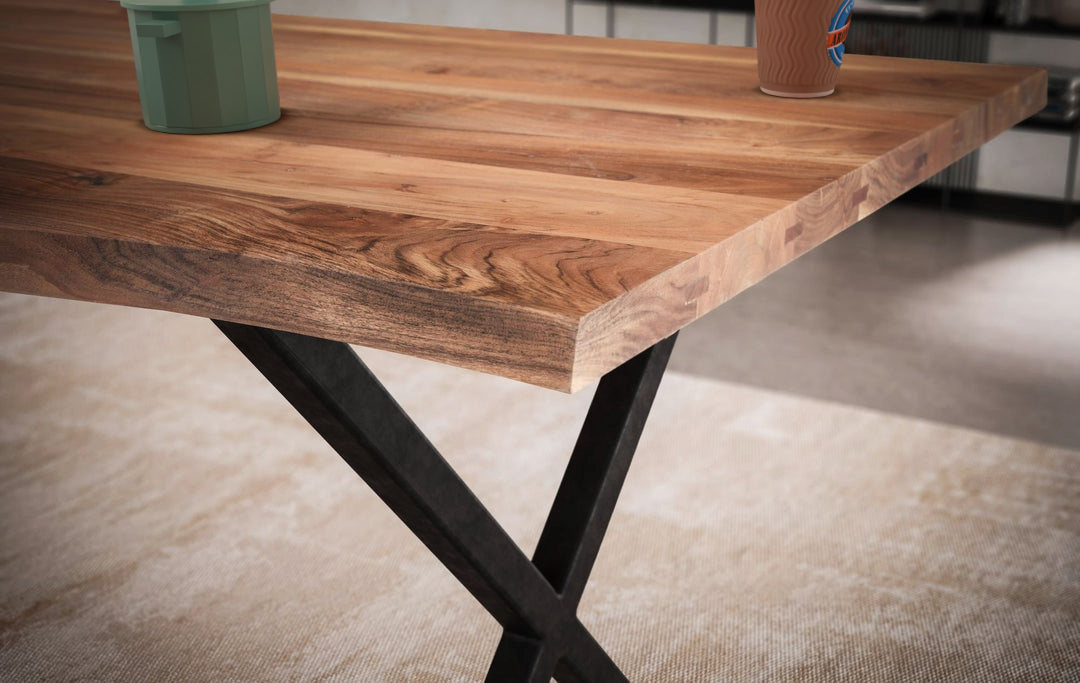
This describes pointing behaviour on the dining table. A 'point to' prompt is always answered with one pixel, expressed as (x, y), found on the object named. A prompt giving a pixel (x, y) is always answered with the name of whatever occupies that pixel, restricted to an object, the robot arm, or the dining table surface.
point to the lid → (189, 4)
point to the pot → (206, 69)
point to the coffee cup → (801, 45)
